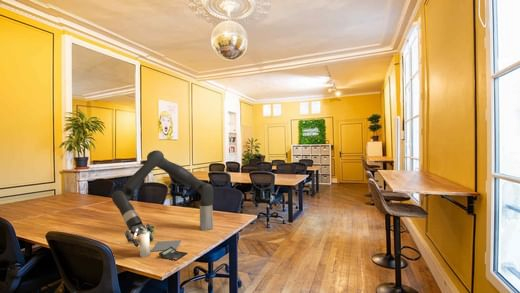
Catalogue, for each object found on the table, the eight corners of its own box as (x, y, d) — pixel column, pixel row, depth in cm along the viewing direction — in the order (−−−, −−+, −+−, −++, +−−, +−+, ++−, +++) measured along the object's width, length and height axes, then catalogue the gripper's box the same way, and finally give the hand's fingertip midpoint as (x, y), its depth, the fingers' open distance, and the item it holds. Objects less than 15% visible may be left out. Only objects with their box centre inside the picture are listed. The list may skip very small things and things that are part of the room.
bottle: (150, 252, 137) (150, 228, 137) (148, 256, 132) (147, 231, 132) (141, 253, 136) (141, 229, 136) (138, 257, 131) (137, 232, 131)
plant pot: (141, 245, 148) (141, 231, 148) (138, 241, 155) (138, 227, 155) (157, 242, 153) (157, 228, 153) (154, 237, 161) (153, 224, 161)
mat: (180, 241, 154) (180, 240, 154) (176, 250, 140) (176, 249, 140) (158, 242, 152) (157, 241, 152) (150, 251, 138) (150, 250, 138)
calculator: (176, 261, 126) (175, 255, 126) (158, 258, 130) (158, 252, 130) (187, 254, 135) (187, 248, 135) (171, 251, 139) (171, 246, 139)
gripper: (122, 219, 132) (135, 243, 126) (146, 212, 144) (159, 235, 139) (117, 227, 135) (130, 251, 129) (141, 220, 147) (153, 242, 141)
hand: (145, 243), depth 134 cm, fingers open, 8 cm apart
